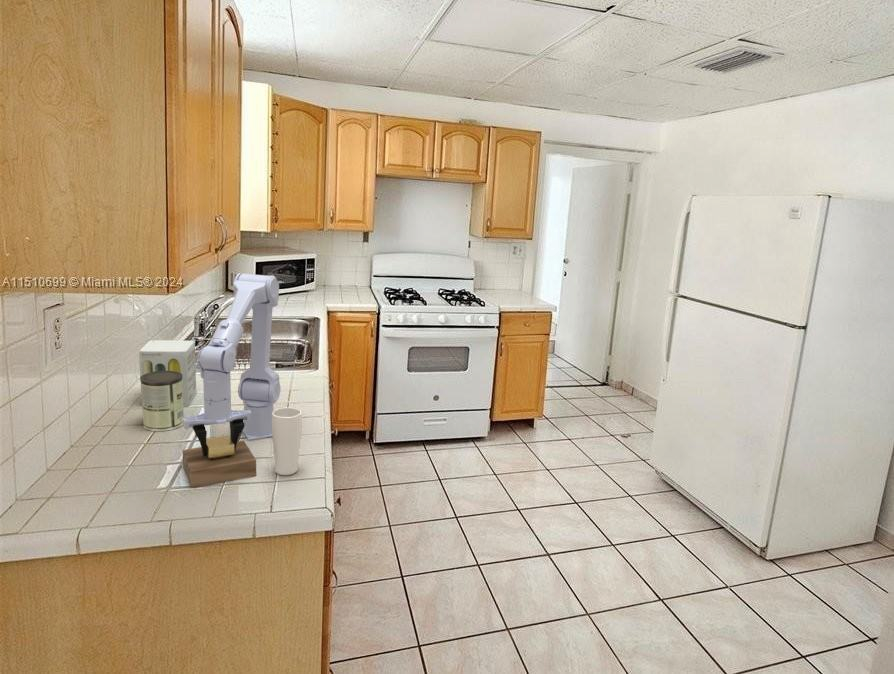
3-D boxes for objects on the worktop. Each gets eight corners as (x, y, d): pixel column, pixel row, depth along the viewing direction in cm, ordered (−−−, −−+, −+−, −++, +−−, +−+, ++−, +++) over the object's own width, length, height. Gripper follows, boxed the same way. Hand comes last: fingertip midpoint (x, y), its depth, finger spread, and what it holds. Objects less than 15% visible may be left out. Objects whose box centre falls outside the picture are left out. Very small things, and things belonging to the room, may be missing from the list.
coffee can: (145, 418, 159) (142, 371, 156) (185, 416, 163) (183, 369, 160) (140, 433, 150) (137, 382, 147) (183, 430, 154) (181, 380, 151)
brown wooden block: (183, 465, 134) (182, 450, 133) (243, 455, 142) (243, 440, 141) (191, 488, 125) (190, 471, 124) (256, 475, 132) (256, 459, 131)
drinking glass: (271, 478, 131) (271, 418, 128) (271, 465, 138) (271, 407, 134) (301, 476, 133) (302, 417, 130) (300, 463, 139) (301, 406, 136)
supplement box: (140, 407, 167) (137, 350, 163) (152, 392, 180) (149, 339, 176) (189, 406, 170) (187, 350, 166) (197, 392, 183) (195, 340, 179)
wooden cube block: (203, 462, 134) (203, 438, 132) (228, 458, 137) (228, 435, 135) (208, 472, 129) (208, 448, 128) (234, 468, 132) (234, 444, 131)
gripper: (185, 407, 122) (187, 464, 125) (254, 398, 130) (254, 453, 133) (180, 396, 128) (183, 452, 131) (247, 389, 135) (247, 442, 139)
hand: (218, 452), depth 132 cm, fingers closed on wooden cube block, 5 cm apart
